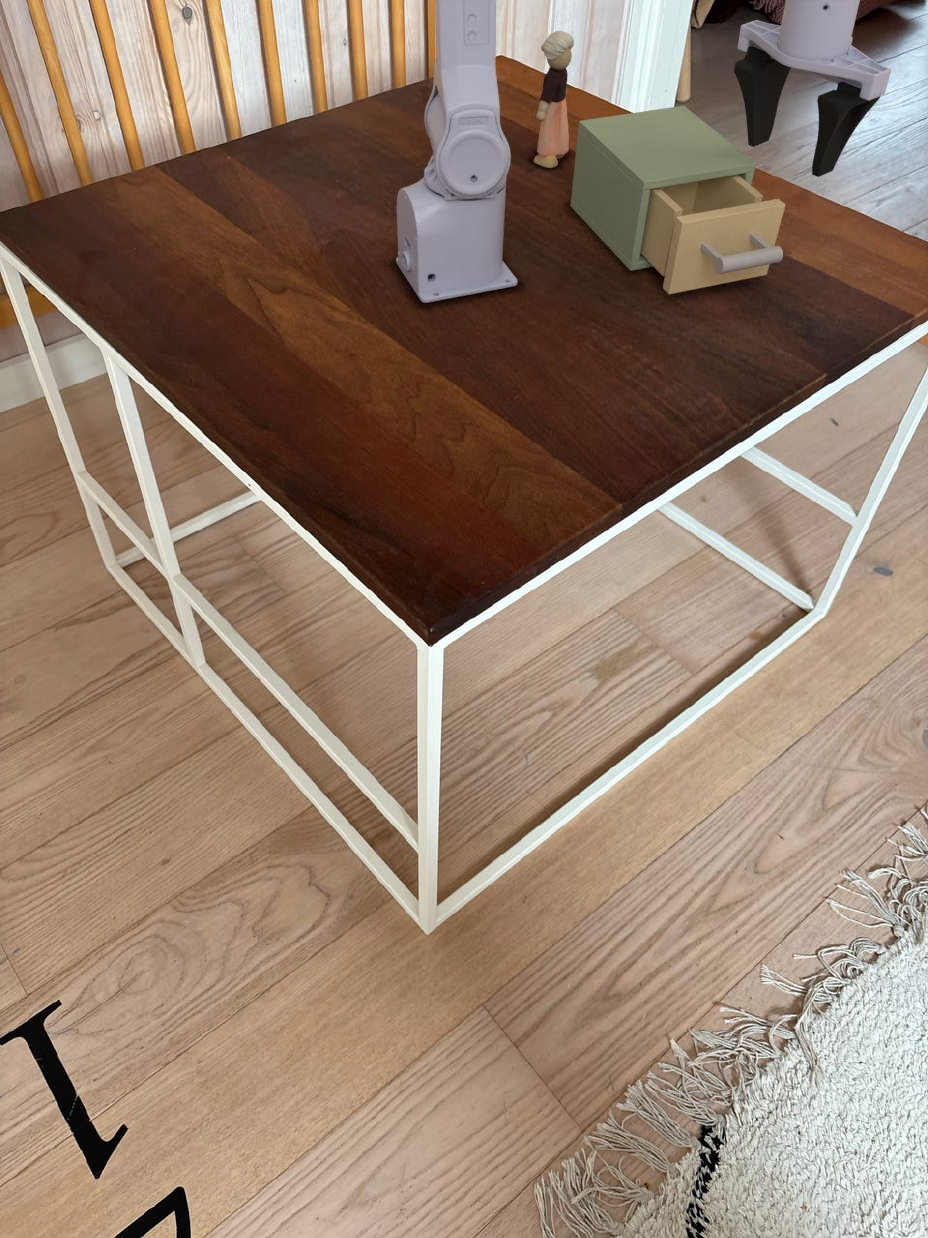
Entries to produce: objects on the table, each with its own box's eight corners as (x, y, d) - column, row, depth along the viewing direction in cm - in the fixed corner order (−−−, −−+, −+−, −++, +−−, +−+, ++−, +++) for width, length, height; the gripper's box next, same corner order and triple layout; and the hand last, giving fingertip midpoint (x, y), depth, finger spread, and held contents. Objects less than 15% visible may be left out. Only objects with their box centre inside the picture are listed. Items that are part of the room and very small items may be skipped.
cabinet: (735, 250, 97) (756, 163, 91) (630, 271, 95) (644, 181, 88) (668, 189, 106) (683, 104, 99) (570, 206, 103) (578, 120, 96)
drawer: (791, 297, 90) (812, 225, 85) (691, 318, 88) (706, 245, 83) (699, 213, 100) (714, 145, 95) (607, 230, 98) (617, 160, 93)
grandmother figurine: (563, 173, 108) (574, 46, 98) (528, 170, 108) (536, 42, 99) (572, 143, 113) (584, 19, 103) (538, 140, 113) (547, 16, 104)
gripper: (934, -3, 76) (884, 172, 87) (791, -47, 84) (761, 118, 95) (872, 19, 74) (829, 197, 84) (731, -28, 82) (707, 139, 92)
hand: (789, 157), depth 89 cm, fingers open, 7 cm apart
